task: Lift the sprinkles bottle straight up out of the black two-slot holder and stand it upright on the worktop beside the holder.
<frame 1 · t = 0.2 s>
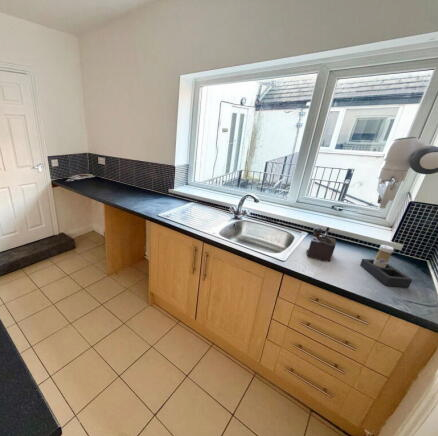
hand: (380, 205, 112), 31 cm above the counter, tool pointing down, fingers open, 8 cm apart
holder: (382, 275, 112), on the counter
sprinkles bottle: (376, 271, 116), resting in holder
brown coffee grinder: (317, 257, 128), on the counter
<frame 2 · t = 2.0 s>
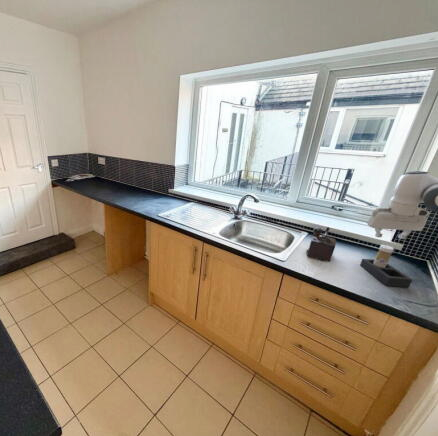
hand: (389, 237, 110), 18 cm above the counter, tool pointing down, fingers open, 8 cm apart
nothing on the counter moved.
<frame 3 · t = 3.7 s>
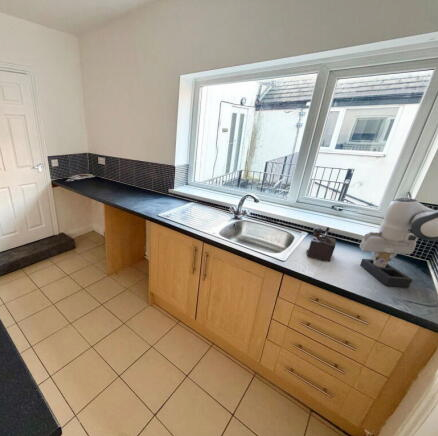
hand: (380, 260, 114), 6 cm above the counter, tool pointing down, fingers closed on sprinkles bottle, 4 cm apart
sprinkles bottle: (376, 271, 116), resting in holder, touching gripper
everything else where it was.
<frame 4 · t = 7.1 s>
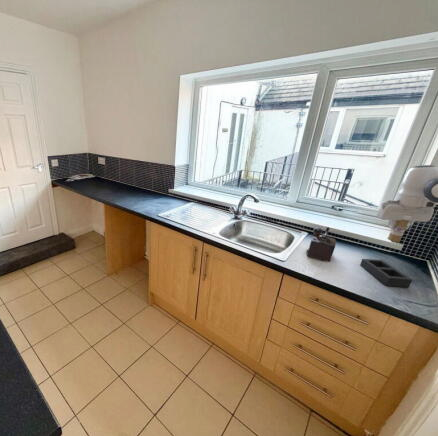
hand: (398, 228, 116), 19 cm above the counter, tool pointing down, fingers closed on sprinkles bottle, 4 cm apart
sprinkles bottle: (393, 240, 118), point 13 cm above the counter, touching gripper
everything else where it was.
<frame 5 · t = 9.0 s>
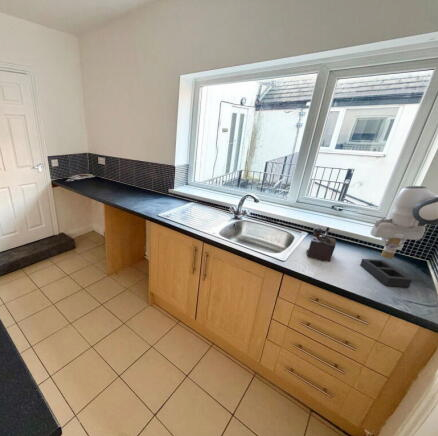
hand: (391, 246, 119), 10 cm above the counter, tool pointing down, fingers closed on sprinkles bottle, 4 cm apart
sprinkles bottle: (386, 257, 121), point 4 cm above the counter, touching gripper
everything else where it was.
when the fingers open (6 cm above the counter, at t = 10.4 s): sprinkles bottle stays where it is, on the counter.
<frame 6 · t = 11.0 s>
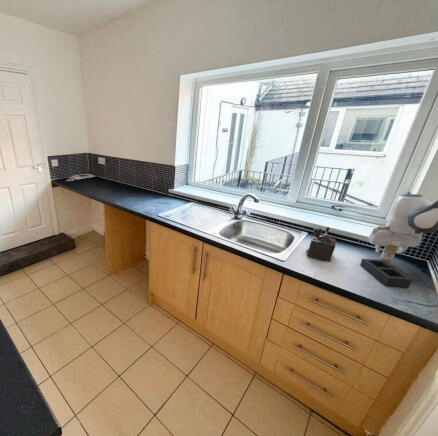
hand: (388, 252, 120), 6 cm above the counter, tool pointing down, fingers open, 8 cm apart
sprinkles bottle: (383, 264, 123), on the counter
everything else where it was.
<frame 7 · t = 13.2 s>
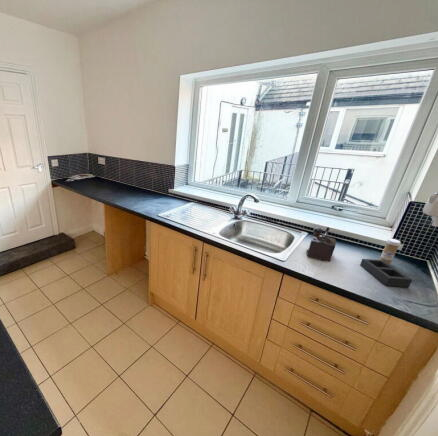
nothing on the counter moved.
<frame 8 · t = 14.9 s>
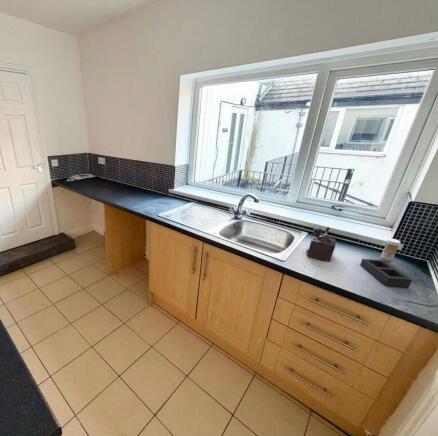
nothing on the counter moved.
at the end: sprinkles bottle inside the target area (0.0 cm from its centre), on the counter; sprinkles bottle tilted 3°; sprinkles bottle touching counter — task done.
